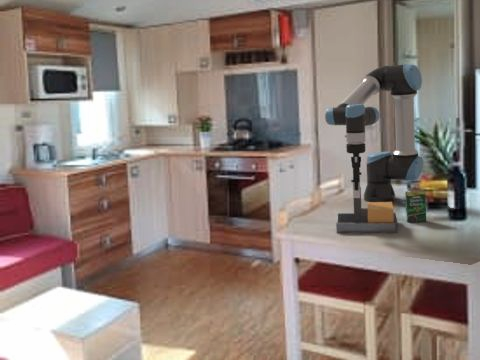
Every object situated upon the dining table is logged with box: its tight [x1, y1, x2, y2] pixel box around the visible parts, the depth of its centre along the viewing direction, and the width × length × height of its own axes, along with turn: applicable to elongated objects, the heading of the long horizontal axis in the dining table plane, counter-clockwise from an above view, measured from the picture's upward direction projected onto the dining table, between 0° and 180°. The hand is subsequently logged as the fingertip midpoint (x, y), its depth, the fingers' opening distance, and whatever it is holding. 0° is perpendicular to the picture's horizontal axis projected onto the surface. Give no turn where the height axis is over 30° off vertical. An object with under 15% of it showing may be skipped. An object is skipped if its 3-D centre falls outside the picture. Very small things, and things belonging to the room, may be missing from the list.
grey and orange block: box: [353, 186, 394, 223], centre depth 231 cm, size 16×12×16 cm
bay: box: [335, 212, 399, 234], centre depth 233 cm, size 24×16×4 cm, turn 78°
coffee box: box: [405, 189, 427, 223], centre depth 236 cm, size 8×3×13 cm, turn 80°
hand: (356, 194), depth 231 cm, fingers open, 13 cm apart
